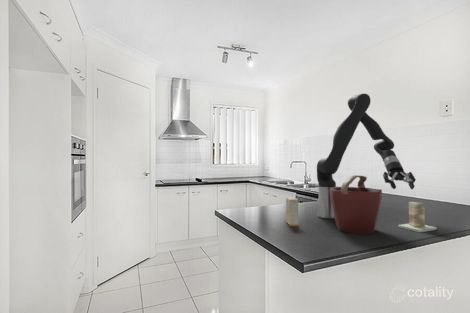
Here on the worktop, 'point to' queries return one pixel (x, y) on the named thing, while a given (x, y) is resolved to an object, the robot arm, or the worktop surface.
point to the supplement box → (292, 211)
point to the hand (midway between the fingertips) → (403, 188)
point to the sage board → (417, 228)
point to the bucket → (356, 206)
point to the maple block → (416, 214)
